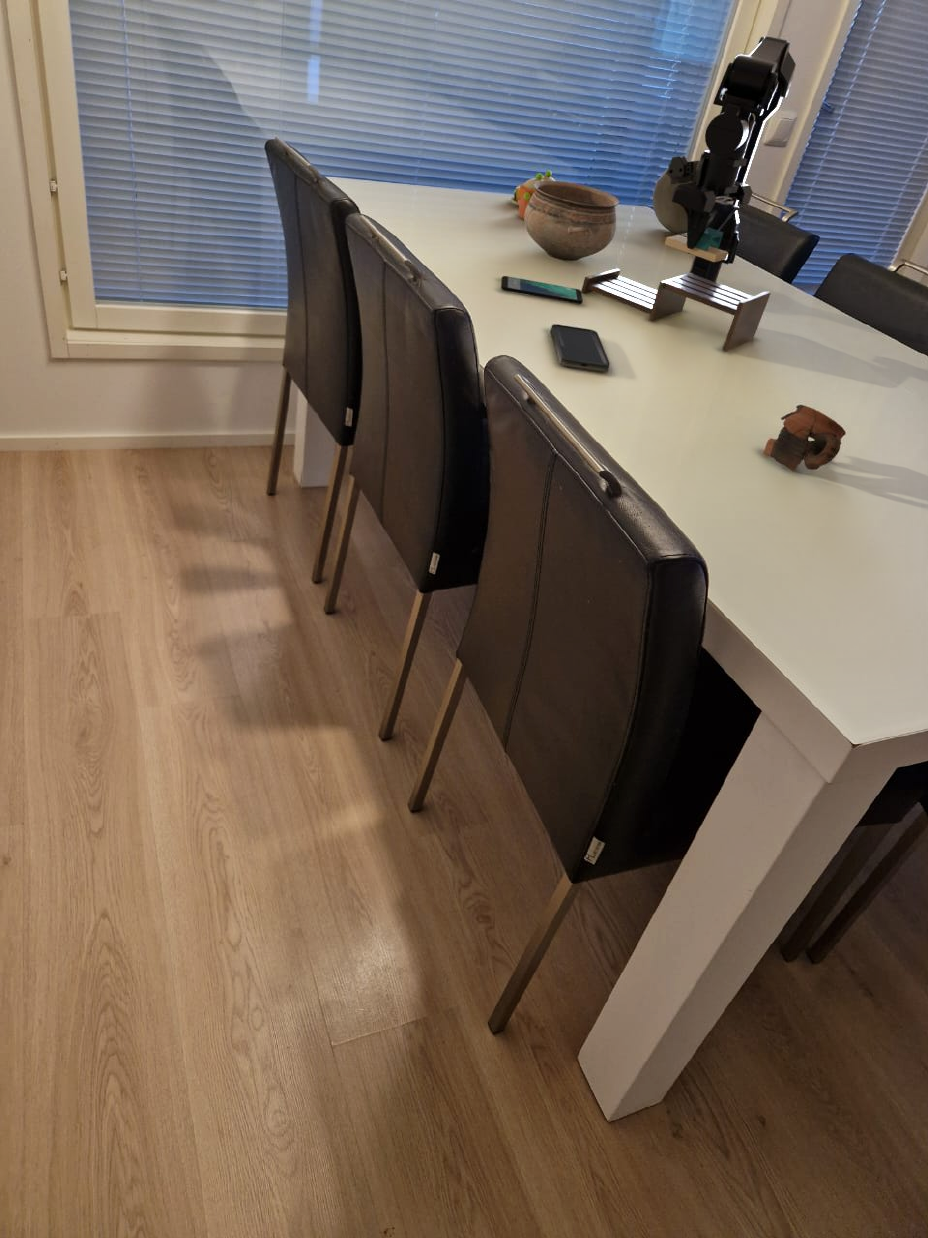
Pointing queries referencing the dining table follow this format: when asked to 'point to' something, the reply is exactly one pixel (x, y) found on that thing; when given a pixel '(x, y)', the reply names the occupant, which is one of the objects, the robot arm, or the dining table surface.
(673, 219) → the cantaloupe
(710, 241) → the wall mail holder
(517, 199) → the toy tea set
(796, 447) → the pottery mug
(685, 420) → the dining table surface
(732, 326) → the shoe rack
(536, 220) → the cooking pot
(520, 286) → the smartphone
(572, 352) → the phone
